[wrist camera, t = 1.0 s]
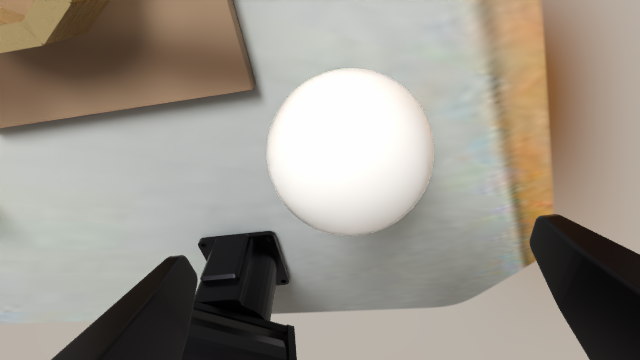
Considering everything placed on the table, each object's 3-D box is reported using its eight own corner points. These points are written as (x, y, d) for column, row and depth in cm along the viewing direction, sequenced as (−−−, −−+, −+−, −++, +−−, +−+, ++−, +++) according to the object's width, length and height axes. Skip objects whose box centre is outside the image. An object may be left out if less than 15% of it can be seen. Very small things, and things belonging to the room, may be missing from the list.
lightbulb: (316, 149, 21) (309, 289, 12) (267, 61, 18) (208, 163, 9) (407, 111, 19) (478, 241, 10) (372, 7, 16) (431, 64, 7)
